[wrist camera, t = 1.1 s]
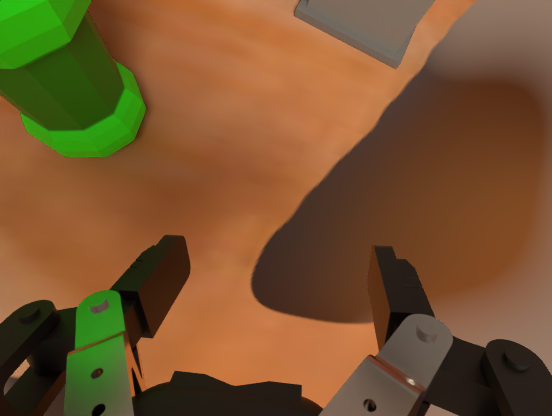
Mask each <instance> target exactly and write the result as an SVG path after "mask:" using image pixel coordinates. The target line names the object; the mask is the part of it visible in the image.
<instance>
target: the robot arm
mask: <svg viewBox="0 0 552 416" xmlns="http://www.w3.org/2000/svg"><path fill="white" fill-rule="evenodd" d="M189 274H190V260H189V255H188V250H187V245H186V240H185V238H184V236H179V235H165V236H164V237H163V238H162V239H161V240H160V241H159V243H158V244H157V245H156V246H154V245H153V246H152V247H150V248H148V249H147V250H145V251H144V252H142V253H141V255H140V256H139V257H138V258H137V259H136V262H134V263H133V264H132V265H131V266H130V268H128V269H127V270H126V272H125V273H124V274H123V275H122V276H121V277H120V278H119V280H118V281H117V282H116V283H115V284H114V285H113V286H112V287H111V289H110V290H105V291H100V292H97V293H95V294H92V295H90V296H89V297H87V298H86V299H84V300H83V301H82V302H81V303H80V304H79V306H78V307H75V308H69V309H63V310H56V308H55V306H54V304H53V303H52V302H51V301H49V300H39V301H35V302H31V303H29V304H26V305H24V306H22V307H20V308H19V309H17V310H16V311H14V312H13V313H12V314H11V315H10V316H9V317H7V318H6V319H5V320H4V321H3V322H2V323H1V324H0V416H43V415H44V413H45V412H46V411H47V409H48V408H49V406H50V405H51V404H52V402H53V401H54V399H55V398H56V396H57V395H58V394H59V392H60V391H61V389H62V388H63V386H64V385H65V384H66V387H65V404H64V406H65V407H64V416H425V415H426V413H427V411H428V409H429V407H430V405H431V404H433V405H435V406H438V407H440V408H442V409H445V410H447V411H450V412H452V413H454V414H457V415H459V416H552V375H551V374H550V372H549V371H548V369H547V367H546V366H545V364H544V363H543V361H542V360H541V359H540V358H539V357H538V356H537V355H536V354H535V353H533V352H532V351H531V350H529V349H528V348H526V347H524V346H522V345H520V344H518V343H515V342H513V341H509V340H504V339H496V340H493V341H490V342H489V343H488V344H487V346H486V348H484V347H481V346H478V345H475V344H472V343H469V342H466V341H463V340H461V339H458V338H456V337H454V336H453V335H452V334H451V332H450V330H449V329H448V327H447V326H446V325H445V324H444V323H442V322H441V321H439V320H438V319H436V318H435V316H434V313H433V311H432V309H431V306H430V304H429V301H428V299H427V296H426V294H425V292H424V289H423V288H422V285H421V282H420V280H419V277H418V275H417V272H416V270H415V268H414V267H413V266H412V265H411V264H410V263H409V262H408V261H407V260H406V259H396V256H395V253H394V250H393V248H392V246H377V245H373V246H372V248H371V255H370V262H369V270H368V279H367V284H368V294H369V299H370V304H371V310H372V315H373V321H374V326H375V332H376V337H377V343H378V348H379V353H378V354H377V355H376V356H375V357H374V356H373V355H368V356H367V357H366V358H365V359H364V360H363V361H362V363H361V364H360V365H359V366H358V368H357V369H356V370H355V371H354V372H353V374H352V375H351V376H350V377H349V379H348V380H347V381H346V382H345V384H344V385H343V386H342V387H341V388H340V390H339V391H338V392H337V393H336V395H335V396H334V397H333V398H332V400H331V401H330V402H329V403H328V404H327V406H326V407H325V408H324V409H323V408H322V407H320V406H319V405H318V404H316V403H315V402H313V401H311V400H309V399H307V398H305V397H302V385H297V384H288V383H279V382H270V381H268V382H261V383H254V384H247V385H240V386H232V385H230V384H227V383H225V382H222V381H220V380H218V379H215V378H213V377H210V376H208V375H206V374H199V373H190V372H181V371H175V372H174V374H173V376H172V378H171V380H170V382H166V383H162V384H159V385H156V386H153V387H151V388H149V389H146V385H145V379H144V374H143V369H142V363H141V358H140V353H139V348H138V345H137V343H138V341H139V339H140V338H141V337H144V338H153V337H154V335H155V334H156V332H157V330H158V328H159V327H160V325H161V323H162V322H163V320H164V318H165V317H166V315H167V313H168V311H169V310H170V308H171V306H172V305H173V303H174V301H175V300H176V298H177V296H178V294H179V293H180V291H181V289H182V288H183V286H184V284H185V282H186V281H187V279H188V277H189ZM25 359H26V360H27V362H28V363H29V365H30V366H29V368H28V369H27V370H26V371H25V372H24V373H23V375H22V376H21V377H20V378H19V379H18V380H17V382H16V383H15V384H14V385H13V387H11V389H10V390H9V391H8V392H7V393H6V394H5V396H4V386H5V383H6V381H7V380H8V378H9V377H10V376H11V375H12V374H13V373H14V371H15V370H16V369H17V368H18V367H19V366H20V365H21V364H22V362H23V361H24V360H25Z"/></svg>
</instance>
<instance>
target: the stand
mask: <svg viewBox="0 0 552 416" xmlns="http://www.w3.org/2000/svg"><path fill="white" fill-rule="evenodd" d="M434 1H435V0H301V1H300V3H299V4H298V6H297V8H296V11H295V15H294V16H295V17H297V18H299V19H301V20H303V21H305V22H307V23H309V24H311V25H313V26H314V27H316V28H318V29H320V30H322V31H324V32H326V33H328V34H330V35H332V36H334V37H335V38H337V39H339V40H341V41H343V42H345V43H347V44H349V45H351V46H353V47H355V48H356V49H358V50H360V51H362V52H364V53H366V54H368V55H370V56H372V57H374V58H376V59H377V60H379V61H381V62H383V63H385V64H387V65H389V66H391V67H393V68H395V69H396V68H397V67H398V66H399V65H400V63H401V61H402V58H403V56H404V54H405V51H406V49H407V47H408V44H409V42H410V39H411V37H412V35H413V32H414V30H415V27H416V25H417V24H418V23H419V21H420V20H421V19H422V17H423V16H424V15H425V13H426V12H427V11H428V9H429V8H430V7H431V5H432V4H433V2H434Z"/></svg>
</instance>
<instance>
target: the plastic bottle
mask: <svg viewBox="0 0 552 416" xmlns="http://www.w3.org/2000/svg"><path fill="white" fill-rule="evenodd" d="M91 1H92V0H0V95H1V96H2V97H4V98H5V99H6V100H7V101H9V102H10V103H11V104H12V105H14V106H15V107H16V108H17V109H18V110H19V111H20V114H21V118H22V121H23V124H24V126H25V129H26V131H27V132H28V133H29V134H31V135H32V136H34V137H35V138H36V139H38V140H40V141H41V142H43V143H44V144H46V145H47V146H49V147H50V148H52V149H54V150H55V151H57V152H58V153H60V154H61V155H63V156H64V157H71V158H92V157H109V156H110V155H112V154H114V153H115V152H117V151H118V150H120V149H122V148H123V147H125V146H126V145H128V144H130V143H131V142H133V141H134V140H135V137H136V135H137V132H138V130H139V127H140V125H141V122H142V120H143V117H144V115H145V111H146V107H145V104H144V101H143V99H142V96H141V93H140V90H139V87H138V84H137V82H136V79H135V77H134V75H133V73H132V72H131V71H130V70H128V69H127V68H126V67H124V66H123V65H121V64H120V63H118V62H117V61H115V60H113V58H112V56H111V54H110V52H109V50H108V48H107V46H106V44H105V42H104V40H103V38H102V37H101V35H100V33H99V31H98V29H97V27H96V25H95V23H94V21H93V19H92V17H91V15H90V14H89V12H88V10H87V9H88V7H89V5H90V3H91Z"/></svg>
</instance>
